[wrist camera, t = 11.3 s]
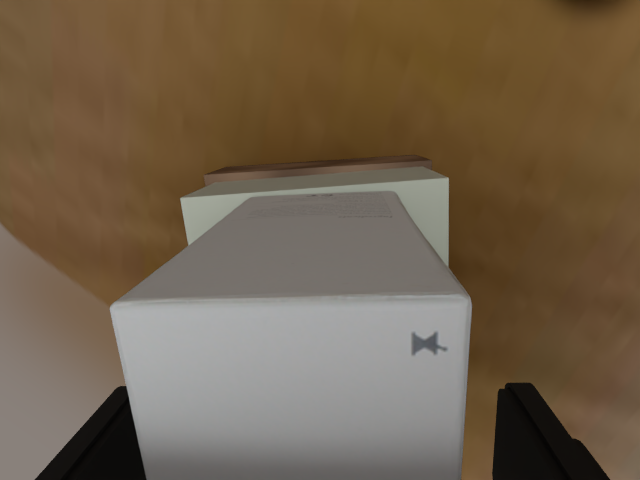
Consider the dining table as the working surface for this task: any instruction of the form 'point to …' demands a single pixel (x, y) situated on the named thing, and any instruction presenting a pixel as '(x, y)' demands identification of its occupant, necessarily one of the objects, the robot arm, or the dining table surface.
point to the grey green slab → (409, 183)
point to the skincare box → (300, 347)
